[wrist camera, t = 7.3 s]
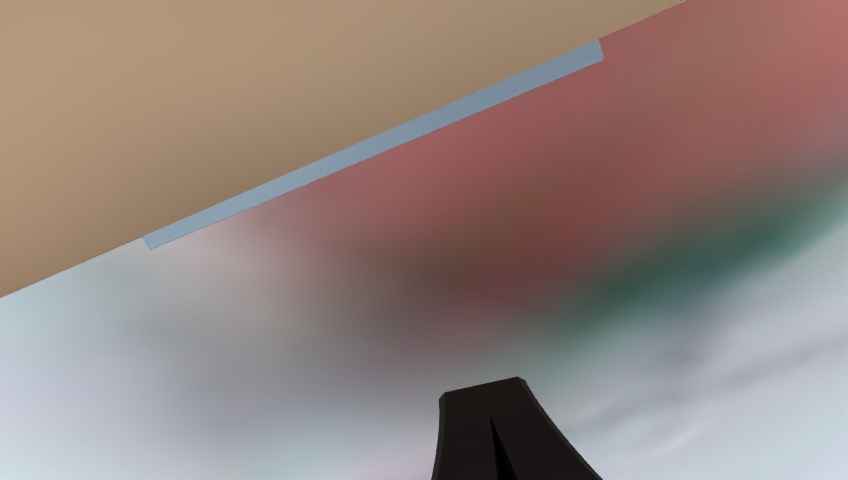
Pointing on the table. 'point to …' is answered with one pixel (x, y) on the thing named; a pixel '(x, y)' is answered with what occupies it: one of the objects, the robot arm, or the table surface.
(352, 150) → the tray
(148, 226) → the low shelf
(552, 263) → the table surface
